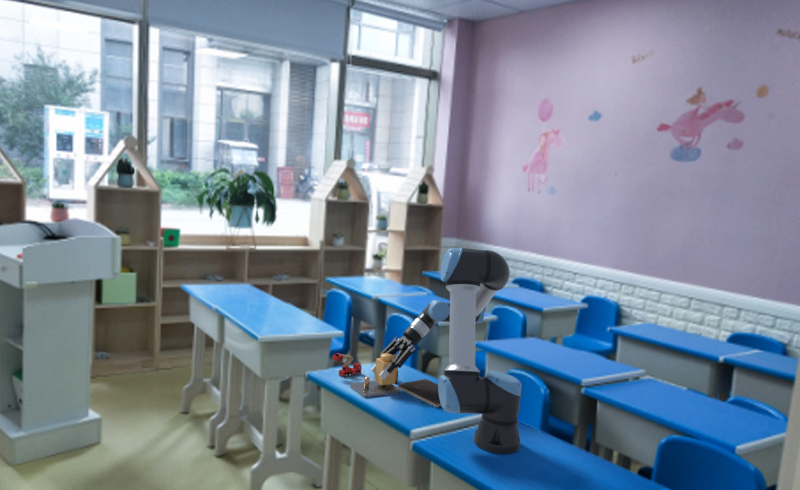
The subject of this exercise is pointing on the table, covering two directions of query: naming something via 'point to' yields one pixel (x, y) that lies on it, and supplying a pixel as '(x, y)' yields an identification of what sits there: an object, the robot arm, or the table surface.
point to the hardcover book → (423, 391)
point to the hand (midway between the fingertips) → (377, 374)
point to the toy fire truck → (345, 368)
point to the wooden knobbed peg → (380, 366)
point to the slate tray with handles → (373, 388)
